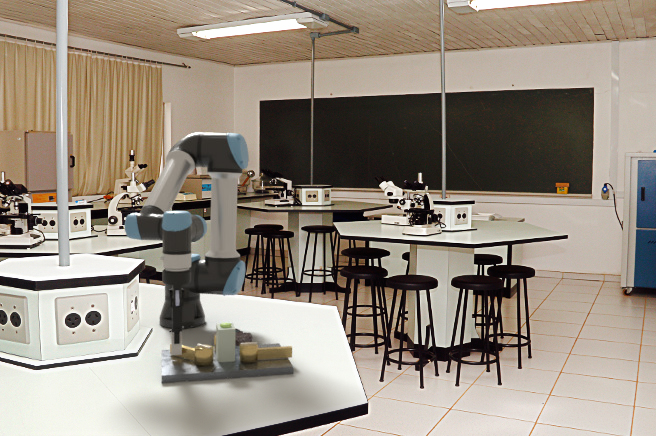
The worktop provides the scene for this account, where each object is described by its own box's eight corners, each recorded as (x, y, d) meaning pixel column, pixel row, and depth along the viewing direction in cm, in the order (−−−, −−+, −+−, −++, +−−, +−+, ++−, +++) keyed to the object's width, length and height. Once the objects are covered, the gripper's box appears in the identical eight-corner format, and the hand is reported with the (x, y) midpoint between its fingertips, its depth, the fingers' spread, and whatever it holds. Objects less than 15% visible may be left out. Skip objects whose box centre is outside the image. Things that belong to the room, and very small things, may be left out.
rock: (251, 349, 182) (251, 334, 181) (213, 349, 181) (213, 334, 180) (252, 340, 190) (252, 326, 190) (215, 341, 189) (215, 326, 189)
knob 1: (217, 361, 163) (217, 344, 163) (204, 366, 159) (204, 349, 159) (178, 350, 171) (178, 335, 170) (165, 355, 167) (165, 339, 166)
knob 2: (240, 363, 163) (240, 346, 162) (238, 356, 168) (238, 340, 167) (293, 359, 167) (293, 343, 166) (289, 353, 171) (290, 337, 171)
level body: (216, 355, 169) (216, 321, 168) (232, 353, 171) (232, 320, 170) (217, 362, 164) (218, 327, 163) (235, 361, 165) (235, 326, 164)
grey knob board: (161, 356, 172) (161, 336, 172) (279, 349, 181) (279, 330, 181) (161, 383, 153) (161, 360, 153) (293, 373, 162) (293, 352, 162)
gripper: (162, 264, 168) (162, 347, 170) (162, 273, 155) (162, 362, 158) (190, 264, 170) (189, 346, 172) (192, 272, 157) (191, 360, 160)
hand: (176, 354), depth 165 cm, fingers closed
